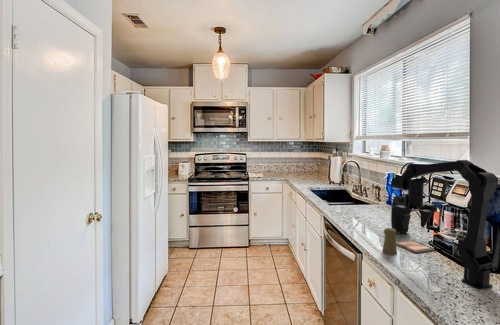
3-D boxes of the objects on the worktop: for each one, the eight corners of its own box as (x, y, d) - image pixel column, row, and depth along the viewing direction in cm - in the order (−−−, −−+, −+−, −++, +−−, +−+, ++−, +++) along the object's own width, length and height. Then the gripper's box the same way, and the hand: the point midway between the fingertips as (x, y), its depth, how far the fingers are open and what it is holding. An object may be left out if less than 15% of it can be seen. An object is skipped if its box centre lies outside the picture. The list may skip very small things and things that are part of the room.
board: (448, 248, 137) (449, 246, 137) (415, 253, 131) (416, 251, 131) (426, 240, 149) (426, 237, 149) (395, 244, 142) (395, 242, 142)
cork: (384, 248, 137) (385, 225, 136) (398, 251, 133) (399, 228, 132) (380, 252, 132) (381, 228, 131) (395, 256, 128) (396, 231, 128)
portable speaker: (411, 232, 160) (413, 197, 159) (403, 236, 155) (404, 199, 153) (396, 228, 167) (397, 195, 166) (387, 231, 162) (389, 197, 160)
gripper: (416, 188, 135) (415, 221, 136) (383, 190, 129) (382, 224, 131) (438, 192, 124) (437, 228, 126) (404, 195, 119) (402, 232, 120)
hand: (414, 228), depth 126 cm, fingers open, 9 cm apart
